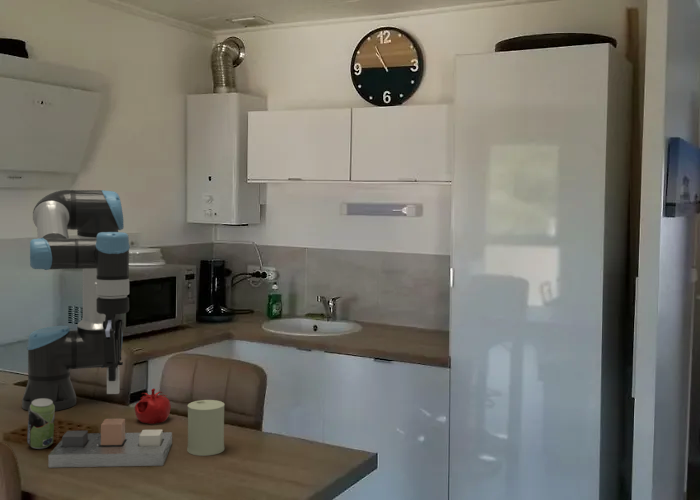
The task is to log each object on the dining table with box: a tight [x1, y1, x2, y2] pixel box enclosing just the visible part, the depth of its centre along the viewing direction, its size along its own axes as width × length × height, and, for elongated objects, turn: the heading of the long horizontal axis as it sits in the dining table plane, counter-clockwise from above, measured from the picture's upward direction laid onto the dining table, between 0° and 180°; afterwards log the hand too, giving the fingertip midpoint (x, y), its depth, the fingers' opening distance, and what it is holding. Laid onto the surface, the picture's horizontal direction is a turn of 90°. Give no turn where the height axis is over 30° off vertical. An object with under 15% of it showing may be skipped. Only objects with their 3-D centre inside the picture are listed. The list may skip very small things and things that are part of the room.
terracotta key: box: [100, 418, 126, 445], centre depth 186 cm, size 5×5×5 cm
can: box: [186, 399, 226, 457], centre depth 191 cm, size 9×9×12 cm
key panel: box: [48, 431, 173, 469], centre depth 186 cm, size 16×26×3 cm, turn 96°
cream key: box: [139, 429, 163, 446], centre depth 187 cm, size 5×5×5 cm
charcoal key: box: [61, 430, 89, 447], centre depth 185 cm, size 5×5×5 cm
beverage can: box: [26, 398, 56, 450], centre depth 191 cm, size 6×7×12 cm
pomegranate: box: [134, 388, 172, 425], centre depth 215 cm, size 10×10×9 cm
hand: (113, 393), depth 185 cm, fingers closed
